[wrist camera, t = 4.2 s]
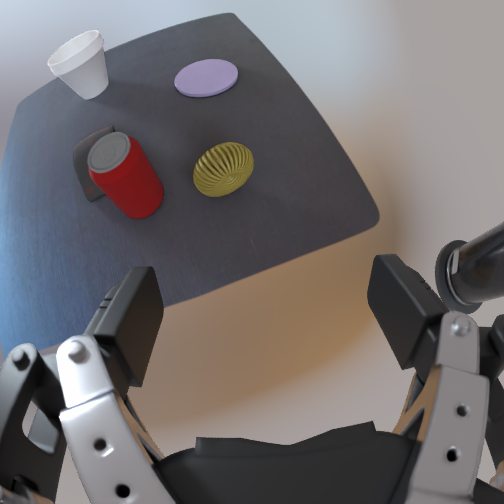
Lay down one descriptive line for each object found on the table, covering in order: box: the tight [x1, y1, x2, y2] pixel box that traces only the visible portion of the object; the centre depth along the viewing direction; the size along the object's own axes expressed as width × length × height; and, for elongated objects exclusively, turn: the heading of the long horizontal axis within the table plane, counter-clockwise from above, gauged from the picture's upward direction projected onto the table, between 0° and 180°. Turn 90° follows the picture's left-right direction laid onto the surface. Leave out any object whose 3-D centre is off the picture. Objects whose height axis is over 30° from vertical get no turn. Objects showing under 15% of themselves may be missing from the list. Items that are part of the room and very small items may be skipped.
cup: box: [47, 30, 109, 99], centre depth 39 cm, size 12×12×14 cm
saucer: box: [175, 59, 238, 97], centre depth 44 cm, size 12×12×1 cm
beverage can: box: [87, 132, 164, 219], centre depth 31 cm, size 7×7×12 cm
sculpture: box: [193, 142, 254, 197], centre depth 33 cm, size 8×4×8 cm, turn 122°
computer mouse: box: [73, 125, 115, 202], centre depth 37 cm, size 8×14×4 cm, turn 24°
